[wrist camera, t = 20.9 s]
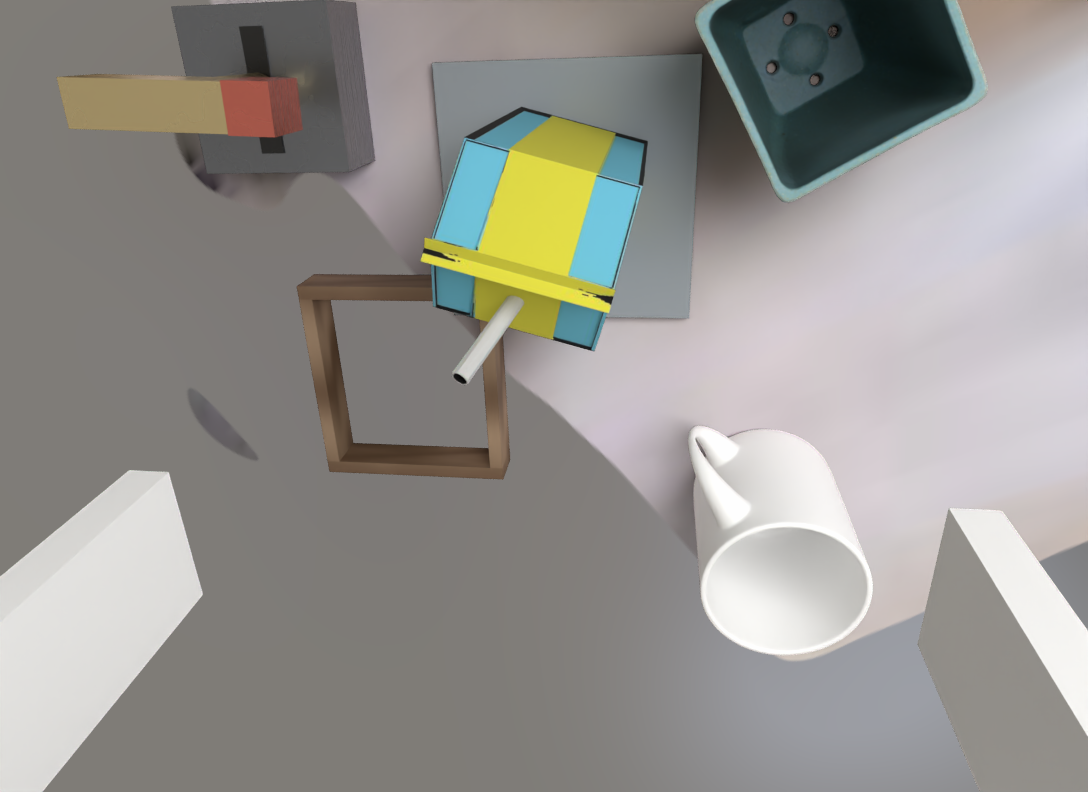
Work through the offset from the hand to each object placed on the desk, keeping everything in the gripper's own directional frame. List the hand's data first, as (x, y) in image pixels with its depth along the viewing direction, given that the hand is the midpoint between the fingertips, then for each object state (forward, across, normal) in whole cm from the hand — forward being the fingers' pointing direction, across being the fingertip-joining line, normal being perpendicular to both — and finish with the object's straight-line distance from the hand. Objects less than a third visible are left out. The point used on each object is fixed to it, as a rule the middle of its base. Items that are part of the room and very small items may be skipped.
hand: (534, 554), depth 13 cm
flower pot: (+33, +9, +7) cm, 35 cm away
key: (+28, -18, +6) cm, 34 cm away
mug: (+33, +8, -17) cm, 38 cm away
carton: (+32, -3, 0) cm, 32 cm away
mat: (+33, -3, 0) cm, 33 cm away
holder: (+33, -13, -11) cm, 37 cm away
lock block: (+33, -18, +6) cm, 38 cm away
